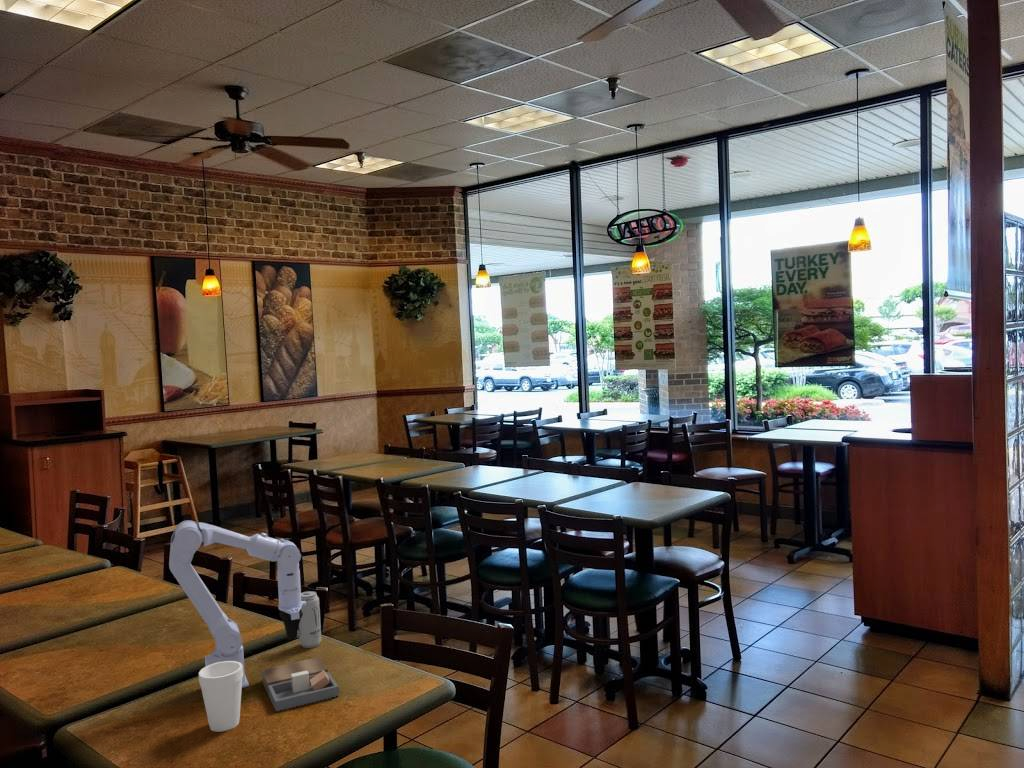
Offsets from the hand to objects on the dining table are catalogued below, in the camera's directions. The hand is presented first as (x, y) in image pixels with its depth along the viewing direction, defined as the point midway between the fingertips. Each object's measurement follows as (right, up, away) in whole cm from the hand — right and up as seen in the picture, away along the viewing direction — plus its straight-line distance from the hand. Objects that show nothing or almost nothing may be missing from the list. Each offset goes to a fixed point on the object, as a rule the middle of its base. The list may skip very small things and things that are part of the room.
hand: (292, 638), depth 204 cm
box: (+7, -9, -14) cm, 19 cm away
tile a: (+5, -7, -11) cm, 14 cm away
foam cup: (-8, -11, -28) cm, 31 cm away
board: (+2, -9, -5) cm, 11 cm away
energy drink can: (0, -8, +19) cm, 21 cm away
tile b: (+11, -8, -12) cm, 18 cm away
